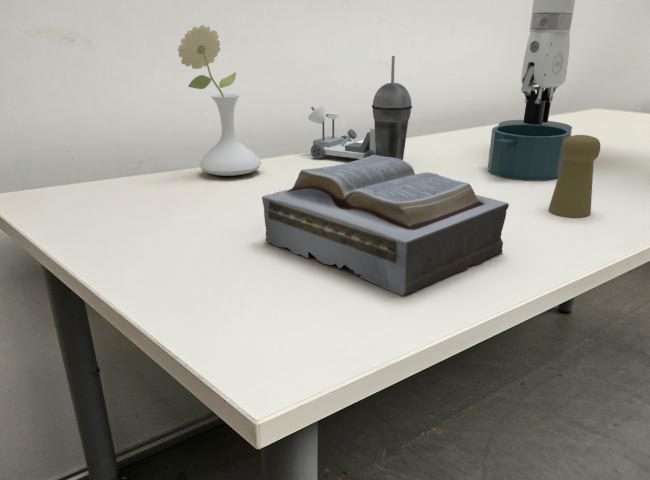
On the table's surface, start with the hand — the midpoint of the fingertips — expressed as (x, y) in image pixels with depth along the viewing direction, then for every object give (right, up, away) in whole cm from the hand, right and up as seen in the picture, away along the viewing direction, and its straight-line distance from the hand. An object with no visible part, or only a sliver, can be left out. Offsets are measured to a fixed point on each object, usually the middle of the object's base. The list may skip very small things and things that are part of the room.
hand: (535, 121), depth 126 cm
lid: (0, -1, +1) cm, 1 cm away
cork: (-7, -25, -35) cm, 43 cm away
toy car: (-38, -7, 0) cm, 39 cm away
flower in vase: (-62, -14, -12) cm, 65 cm away
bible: (-36, -32, -48) cm, 69 cm away
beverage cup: (-32, -13, -11) cm, 36 cm away
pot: (-6, -13, -12) cm, 19 cm away
